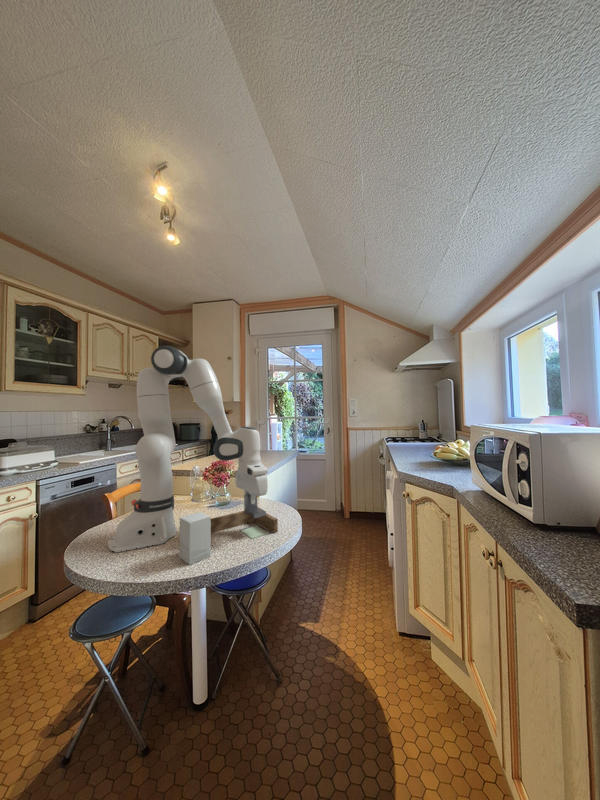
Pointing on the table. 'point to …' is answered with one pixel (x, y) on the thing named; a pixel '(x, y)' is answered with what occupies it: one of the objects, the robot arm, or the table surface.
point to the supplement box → (195, 537)
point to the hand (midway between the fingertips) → (250, 502)
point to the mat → (253, 531)
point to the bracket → (252, 507)
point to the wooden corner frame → (242, 521)
